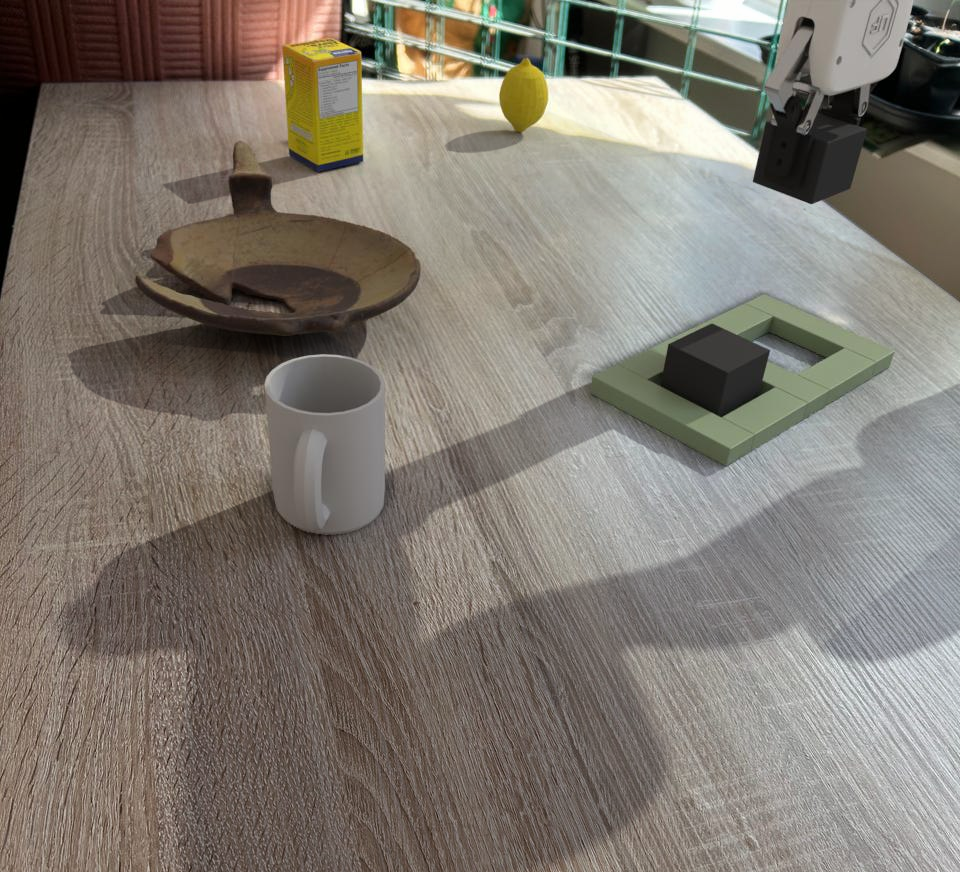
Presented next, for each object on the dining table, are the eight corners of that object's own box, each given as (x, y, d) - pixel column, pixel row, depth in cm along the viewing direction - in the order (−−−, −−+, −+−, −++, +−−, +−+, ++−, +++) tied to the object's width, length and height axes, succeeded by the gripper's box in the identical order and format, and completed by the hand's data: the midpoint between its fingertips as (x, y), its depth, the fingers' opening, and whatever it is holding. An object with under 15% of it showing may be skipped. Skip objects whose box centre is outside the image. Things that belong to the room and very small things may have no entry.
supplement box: (333, 145, 121) (329, 35, 114) (364, 163, 118) (363, 51, 110) (286, 155, 118) (280, 43, 111) (317, 173, 115) (313, 59, 107)
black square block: (791, 167, 89) (806, 108, 86) (850, 188, 86) (867, 128, 83) (751, 182, 86) (765, 121, 83) (811, 205, 83) (827, 143, 80)
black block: (700, 374, 88) (711, 322, 85) (757, 402, 86) (770, 349, 82) (657, 396, 85) (667, 343, 82) (714, 426, 83) (727, 372, 79)
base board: (760, 309, 98) (764, 293, 97) (889, 367, 91) (895, 350, 90) (589, 393, 85) (592, 375, 84) (725, 466, 79) (730, 449, 78)
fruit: (519, 143, 125) (526, 67, 120) (487, 129, 128) (492, 54, 123) (554, 134, 128) (562, 59, 123) (521, 121, 131) (527, 47, 125)
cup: (393, 479, 75) (394, 361, 69) (366, 571, 68) (364, 447, 62) (289, 467, 75) (280, 348, 69) (250, 557, 68) (237, 433, 62)
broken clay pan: (107, 378, 82) (89, 280, 77) (199, 219, 104) (190, 135, 99) (405, 400, 83) (406, 304, 77) (434, 237, 105) (437, 154, 99)
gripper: (854, -82, 66) (781, 216, 79) (988, -103, 76) (904, 166, 88) (753, -104, 70) (698, 184, 83) (892, -122, 79) (824, 139, 92)
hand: (805, 172), depth 85 cm, fingers closed on black square block, 5 cm apart
